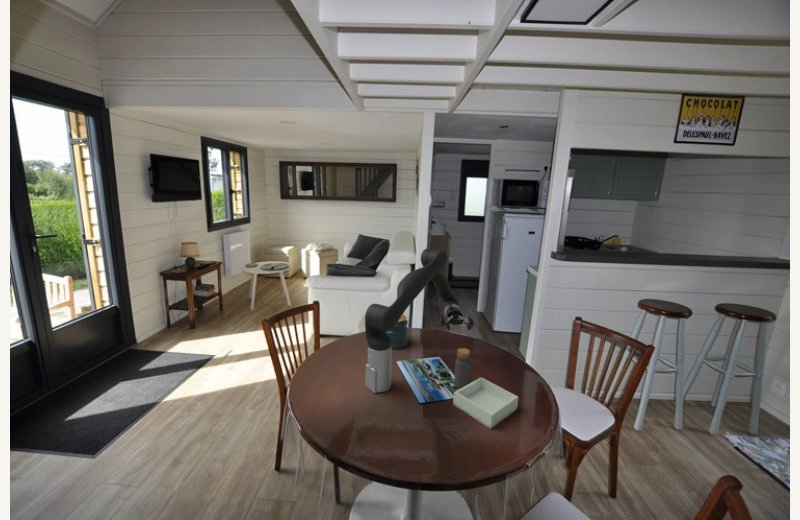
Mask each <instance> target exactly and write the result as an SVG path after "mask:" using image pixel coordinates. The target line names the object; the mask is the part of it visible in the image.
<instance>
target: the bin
mask: <svg viewBox="0 0 800 520" xmlns="http://www.w3.org/2000/svg"><path fill="white" fill-rule="evenodd" d="M518 404H519V396H518V395H516V394H514V393H512V392H510V391H508V390H506V389H505V388H502V387H501V386H499V385H497V384H495V383H494V382H491V381H489V380H487V379H486V378H483V377H482V376H481V377H478V378H476V380H473V381H472V382H469V384H468V385H466V386H464V387H463V388H461V389H457V390H456V391H454V392H453V402H452V405H453V406H454V407H456V408H457V409H459V410H461V411H463V412H464V413H465V414H467V415H468V416H470V417H472V418H473V419H475V420H476V421H478V422H479V423H481V424H482V425H484V426H485V427H487V428H488V429H490V430H491V429H493V428H495V426H497V425H499V424H500V423H501V422H502V421H504V420H505V419H507V418H508V417H509V416H510V415H512V414H513V413H515V411H517V410H518Z"/></svg>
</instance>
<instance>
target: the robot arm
mask: <svg viewBox="0 0 800 520" xmlns="http://www.w3.org/2000/svg"><path fill="white" fill-rule="evenodd" d="M420 262H421V266H422V267H419V268H417V269H414V270H413V271H410V272H409V273H407V274H406V275H405V276H404V277H403V278H402V279H401V280H400V282H399V283H398V285H397V287H396V299H395V301H394V302H393V303H392V304H391V305H390V306H387V305H383V304H379V303H371V304H370V305H369V306H368V308H367V309H366V311H365V316H364V326H365V327H364V329H365V340H366V342H367V363H365V387H366V388H367V389H368V390H369V391H370V392H372V393H374V394H376V393H384V392H386V391H387V392H388V390H390V389H391V385H392V351H393V349H392V340H391V337H390V336H389V335H388V334H387V333H386V332H388V331H390V330H391V329H393V327H394V326H395V325H396V324H397V322H398V321H399V319H400V318H401V316H402V315H404V313H405V311H407V310H408V308H409V306H410V305H411V304H412V302H413V301H414V300H415V299H417V297H418V296H419V295H420V293H421V292H422V291H423V290H424V289H425V288H426V286H427V285H428V284H429V283H430V282H431V281H432V284H434V287H435V290H436V293H437V295H438V297H439V299H438V301H437V304H438V305H437V306H438V307H439V308H440V310H441V311H442V312H444V316H443V315H440V318H439V319H440V320H439V323H440V326H441V327H445V328H446V330H448V331H450V330H451V326H457V325H458V326H461V327H466V329H467V331H470V330H471V329H472V327H474V319H473V318H472V316H471V315H470V316H467V317H464V315H463V313H462V311H461V309H460V307H459V305H460V304H459V299H458V297H457V295H456V294H455V293H454V292H453V290H452V288H451V285H450V282H449V280H448V279H447V277H445V275H444V274H443V273H442V272H441V271H443V270H444V268H445V267H446V264H447V262H448V253H447V252H446V251H445V250H442V249H436V248H425V249H423V251H422V252H421V254H420Z"/></svg>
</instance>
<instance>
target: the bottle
mask: <svg viewBox="0 0 800 520" xmlns="http://www.w3.org/2000/svg"><path fill="white" fill-rule="evenodd" d="M470 353H471V351H470V350H469V349H468V348H465V347H464V348H463V347H461V348H458V349H457V353H456V357H457V358H456V359H455V366H454V367H455V368H454V383H453V384H454V387H455V388H457V390H459V389H461V388H463V387H464V386H466V385H468V384H470V377H471V360H470V359H471V354H470Z"/></svg>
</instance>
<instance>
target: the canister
mask: <svg viewBox="0 0 800 520" xmlns="http://www.w3.org/2000/svg"><path fill="white" fill-rule="evenodd" d="M408 324H409V321H408V320H407V315H405V314H403V315H402V316H401V318H400V319H399V321H398V322H397V324H396V325H395V326H394V327H393V329H391V330H390V331H388V332H386V333H387V334H388V335H389V336H390V337H391V340H392V350H399V349H404V348H405V347H406V346H407V344H408V330H409V329H408V328H409V327H408Z"/></svg>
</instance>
